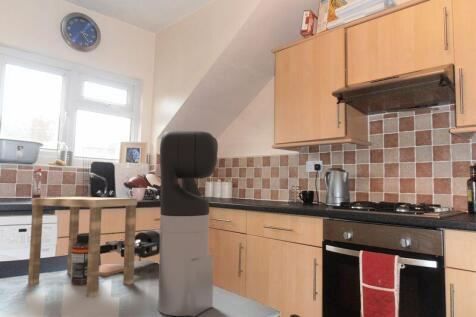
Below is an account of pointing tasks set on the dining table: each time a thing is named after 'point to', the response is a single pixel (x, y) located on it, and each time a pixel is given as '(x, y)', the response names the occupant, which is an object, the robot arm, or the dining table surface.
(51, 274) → the dining table surface
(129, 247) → the small wooden table
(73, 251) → the supplement bottle
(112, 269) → the coaster
